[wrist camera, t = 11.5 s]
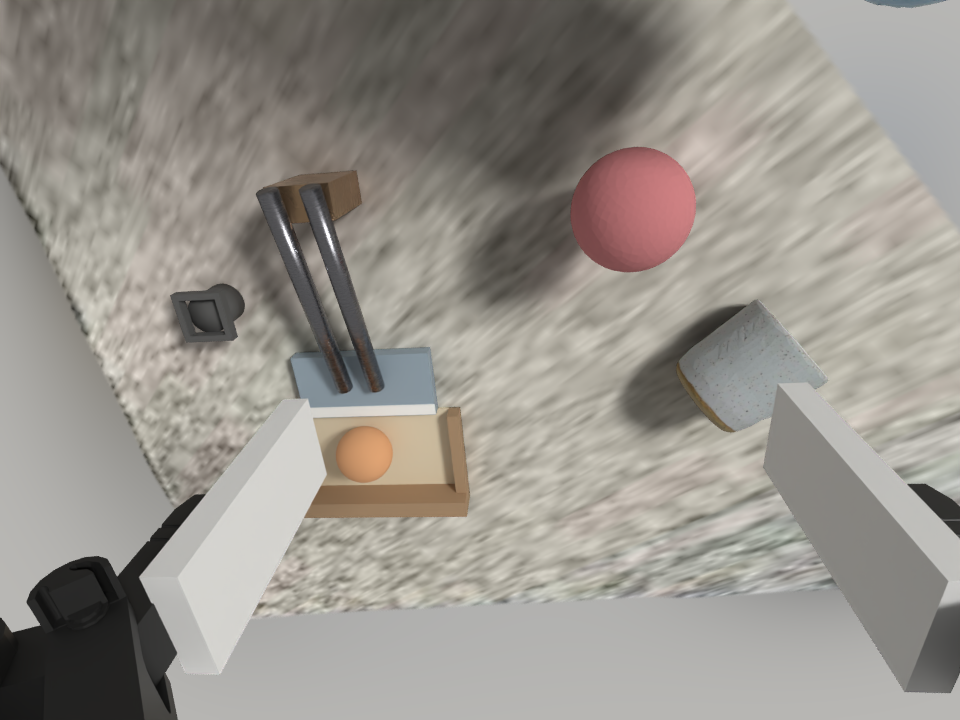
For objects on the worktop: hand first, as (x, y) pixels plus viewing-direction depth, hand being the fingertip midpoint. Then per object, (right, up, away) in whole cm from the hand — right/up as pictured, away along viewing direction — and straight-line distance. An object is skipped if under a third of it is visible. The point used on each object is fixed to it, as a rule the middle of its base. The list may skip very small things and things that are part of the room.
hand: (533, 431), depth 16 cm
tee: (-23, +7, +31) cm, 39 cm away
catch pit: (-11, -7, +36) cm, 39 cm away
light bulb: (+8, +15, +24) cm, 30 cm away
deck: (-12, 0, +33) cm, 35 cm away
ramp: (-12, +8, +29) cm, 33 cm away
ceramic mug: (+20, +2, +29) cm, 36 cm away
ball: (-12, -6, +33) cm, 36 cm away
